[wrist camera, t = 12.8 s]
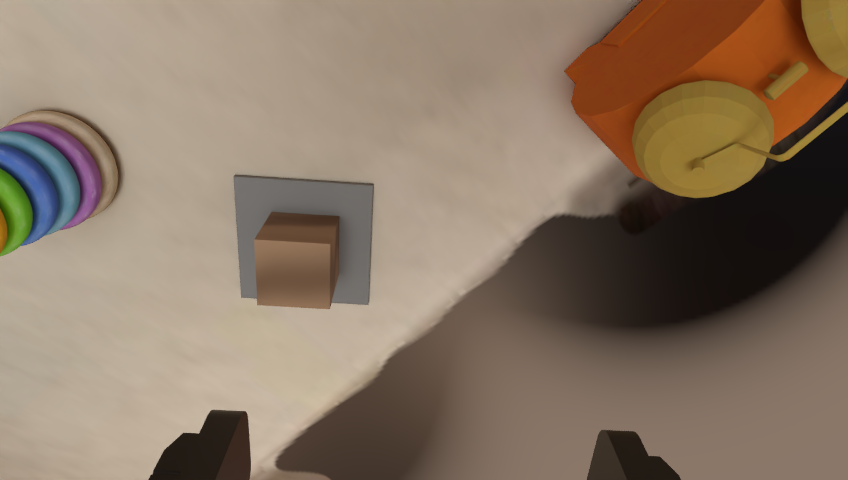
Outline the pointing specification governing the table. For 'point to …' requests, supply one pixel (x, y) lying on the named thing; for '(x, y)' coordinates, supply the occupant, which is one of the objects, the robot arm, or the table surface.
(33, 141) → the stacking toy
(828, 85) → the alarm clock
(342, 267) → the mat
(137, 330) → the table surface
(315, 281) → the cube
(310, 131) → the table surface
